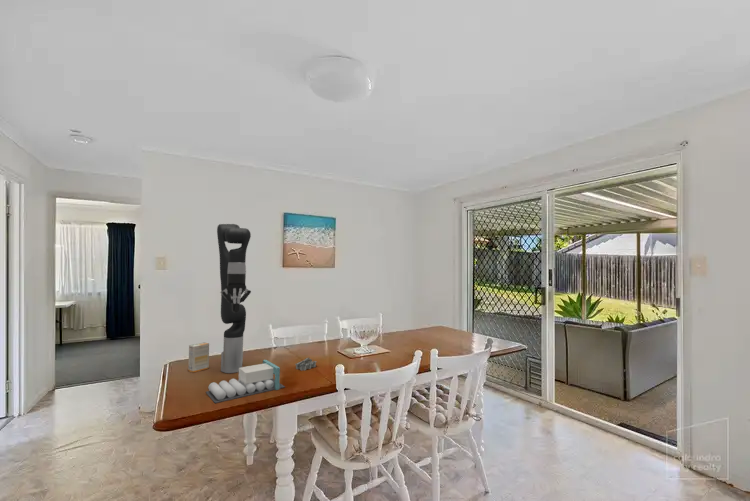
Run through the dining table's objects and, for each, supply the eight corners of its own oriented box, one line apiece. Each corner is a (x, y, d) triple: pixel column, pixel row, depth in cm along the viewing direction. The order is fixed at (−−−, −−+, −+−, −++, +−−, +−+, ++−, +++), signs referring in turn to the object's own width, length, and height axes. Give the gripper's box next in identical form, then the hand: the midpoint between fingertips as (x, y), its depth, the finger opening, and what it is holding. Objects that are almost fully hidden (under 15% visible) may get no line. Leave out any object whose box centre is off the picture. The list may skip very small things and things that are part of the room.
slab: (245, 384, 144) (245, 373, 144) (238, 378, 151) (238, 367, 151) (273, 378, 151) (273, 368, 151) (265, 373, 158) (265, 363, 158)
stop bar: (275, 390, 149) (276, 368, 149) (262, 380, 161) (262, 360, 161) (279, 389, 150) (279, 367, 150) (265, 379, 162) (266, 359, 162)
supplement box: (203, 367, 179) (204, 341, 180) (208, 369, 176) (209, 343, 177) (187, 371, 172) (188, 344, 173) (192, 373, 170) (193, 346, 170)
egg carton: (309, 364, 188) (309, 356, 189) (318, 367, 184) (318, 359, 184) (293, 368, 180) (293, 360, 180) (302, 371, 175) (302, 363, 176)
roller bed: (214, 403, 134) (215, 392, 134) (205, 392, 144) (206, 382, 145) (284, 387, 152) (285, 378, 152) (272, 379, 163) (272, 370, 163)
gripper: (248, 272, 160) (247, 310, 159) (218, 272, 151) (217, 312, 150) (254, 273, 154) (253, 312, 153) (223, 273, 145) (222, 314, 145)
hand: (235, 312), depth 152 cm, fingers closed
